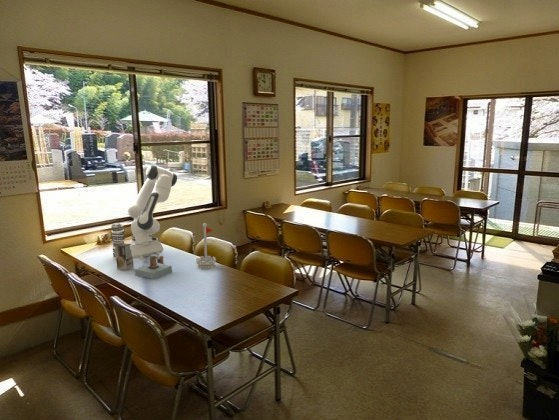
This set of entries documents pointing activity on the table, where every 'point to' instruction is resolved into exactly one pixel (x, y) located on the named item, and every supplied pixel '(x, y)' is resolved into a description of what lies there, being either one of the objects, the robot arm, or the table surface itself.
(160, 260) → the short pin
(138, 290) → the table surface
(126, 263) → the coffee box
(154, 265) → the long pin
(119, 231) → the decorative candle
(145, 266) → the bored board
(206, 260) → the flag stand
